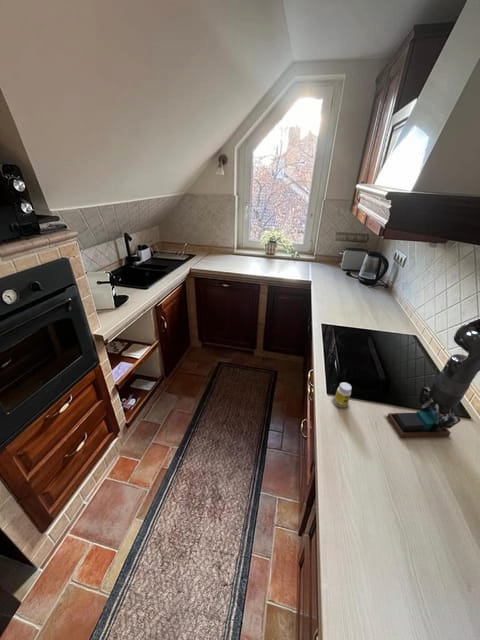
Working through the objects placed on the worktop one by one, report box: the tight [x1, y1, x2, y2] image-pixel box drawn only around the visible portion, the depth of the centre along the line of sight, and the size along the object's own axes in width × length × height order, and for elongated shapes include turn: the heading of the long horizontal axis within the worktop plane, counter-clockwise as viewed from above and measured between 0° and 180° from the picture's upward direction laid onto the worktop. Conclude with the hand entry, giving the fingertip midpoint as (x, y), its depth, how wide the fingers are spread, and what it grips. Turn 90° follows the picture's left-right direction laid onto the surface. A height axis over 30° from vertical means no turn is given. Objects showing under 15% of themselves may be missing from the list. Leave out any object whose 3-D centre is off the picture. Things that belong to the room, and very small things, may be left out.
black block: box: [394, 412, 424, 433], centre depth 85 cm, size 6×5×4 cm
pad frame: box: [386, 412, 452, 439], centre depth 85 cm, size 16×8×2 cm, turn 93°
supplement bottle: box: [333, 381, 353, 408], centre depth 92 cm, size 5×5×8 cm
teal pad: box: [415, 410, 442, 431], centre depth 85 cm, size 6×5×4 cm
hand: (427, 423), depth 85 cm, fingers closed on teal pad, 5 cm apart
